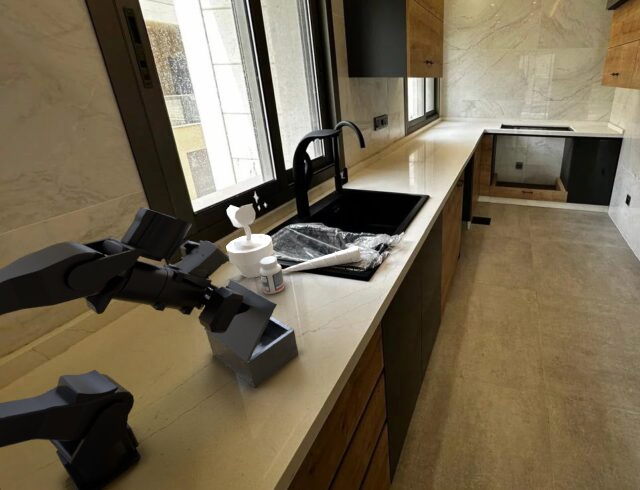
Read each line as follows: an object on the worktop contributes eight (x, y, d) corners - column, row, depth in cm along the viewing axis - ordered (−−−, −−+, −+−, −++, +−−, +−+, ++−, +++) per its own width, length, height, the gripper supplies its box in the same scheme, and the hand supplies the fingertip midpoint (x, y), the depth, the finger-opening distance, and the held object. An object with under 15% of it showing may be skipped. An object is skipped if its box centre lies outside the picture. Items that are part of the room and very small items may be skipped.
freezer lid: (233, 279, 68) (213, 275, 64) (277, 304, 60) (257, 300, 57) (206, 329, 65) (184, 327, 61) (249, 361, 58) (226, 361, 54)
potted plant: (284, 271, 96) (270, 191, 87) (242, 289, 88) (222, 202, 79) (265, 256, 104) (250, 181, 95) (225, 271, 96) (205, 191, 87)
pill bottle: (285, 281, 91) (280, 253, 88) (284, 292, 87) (278, 263, 84) (264, 284, 90) (258, 256, 87) (262, 296, 85) (256, 266, 82)
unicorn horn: (280, 266, 98) (278, 252, 97) (360, 256, 105) (359, 243, 103) (278, 275, 94) (276, 260, 92) (361, 263, 100) (360, 250, 99)
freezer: (256, 326, 75) (251, 304, 72) (298, 353, 68) (294, 329, 65) (213, 354, 67) (205, 330, 65) (254, 388, 60) (248, 362, 58)
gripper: (215, 252, 47) (292, 278, 60) (158, 223, 56) (236, 251, 69) (169, 329, 44) (261, 338, 57) (117, 284, 53) (206, 301, 66)
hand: (240, 303), depth 62 cm, fingers closed on freezer lid, 5 cm apart
